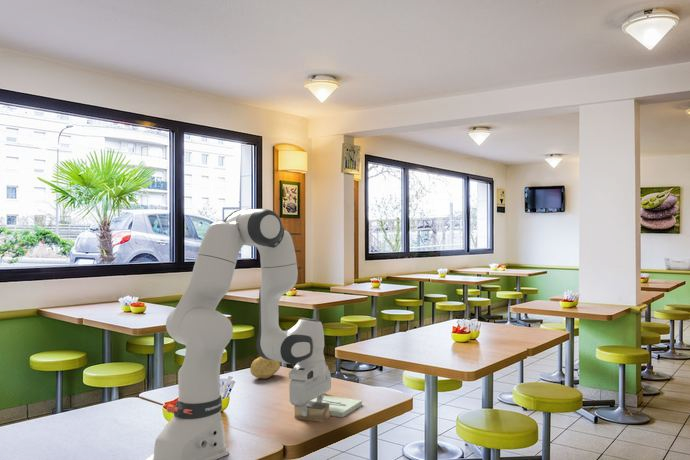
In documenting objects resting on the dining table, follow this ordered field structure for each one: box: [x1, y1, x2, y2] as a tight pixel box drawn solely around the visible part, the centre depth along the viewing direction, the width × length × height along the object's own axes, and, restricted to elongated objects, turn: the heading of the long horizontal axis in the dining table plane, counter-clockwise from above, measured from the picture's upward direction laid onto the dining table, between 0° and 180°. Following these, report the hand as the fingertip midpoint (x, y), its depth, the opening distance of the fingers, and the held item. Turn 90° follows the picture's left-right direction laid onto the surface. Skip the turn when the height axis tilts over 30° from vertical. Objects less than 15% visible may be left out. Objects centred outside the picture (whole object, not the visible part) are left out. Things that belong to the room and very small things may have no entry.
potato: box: [249, 356, 282, 379], centre depth 229 cm, size 10×14×10 cm
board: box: [310, 395, 363, 418], centre depth 187 cm, size 14×16×2 cm
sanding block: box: [293, 400, 331, 423], centre depth 178 cm, size 5×10×4 cm, turn 64°
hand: (312, 411), depth 178 cm, fingers open, 7 cm apart
